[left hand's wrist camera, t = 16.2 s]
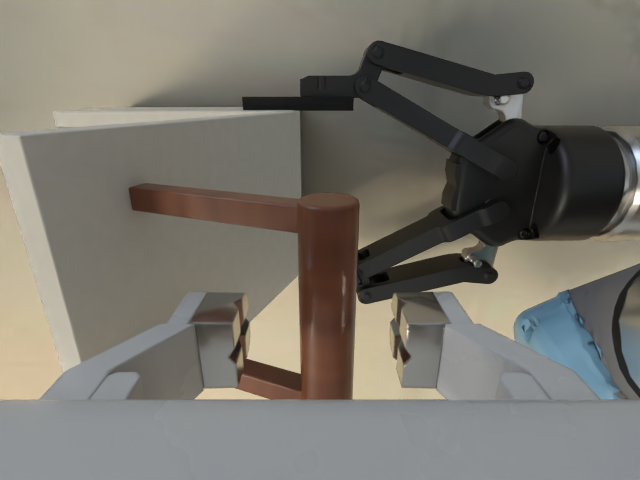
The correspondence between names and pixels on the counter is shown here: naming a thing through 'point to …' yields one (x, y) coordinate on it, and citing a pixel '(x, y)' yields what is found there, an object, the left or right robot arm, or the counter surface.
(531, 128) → the right robot arm
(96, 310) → the lid
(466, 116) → the counter surface
